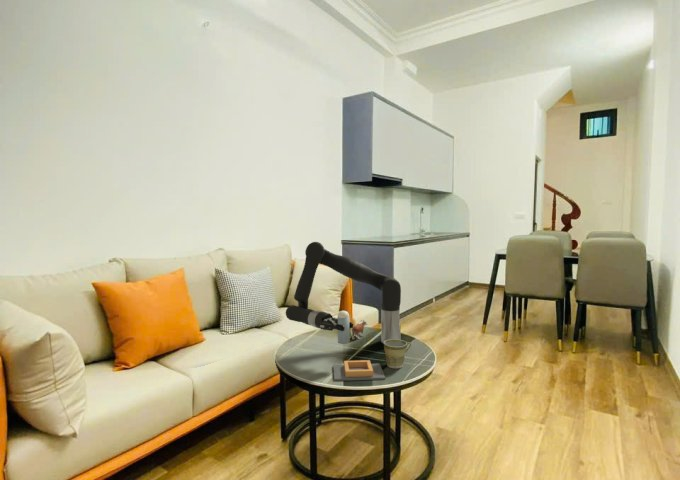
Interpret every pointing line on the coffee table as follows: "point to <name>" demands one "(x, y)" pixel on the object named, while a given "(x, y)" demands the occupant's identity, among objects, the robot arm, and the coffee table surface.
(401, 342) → the ceramic cup
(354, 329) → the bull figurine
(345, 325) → the pale grey cylinder
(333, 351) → the coffee table surface
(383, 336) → the robot arm
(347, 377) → the jig
